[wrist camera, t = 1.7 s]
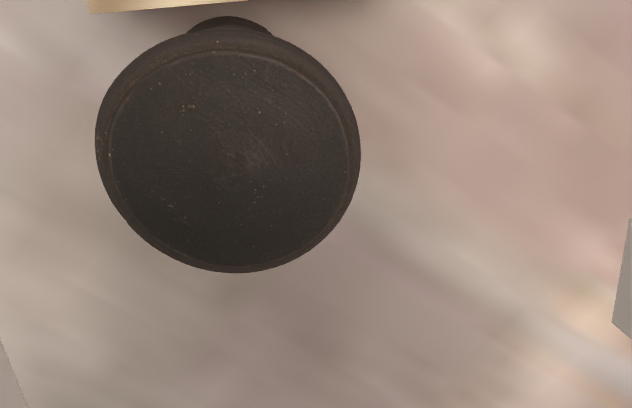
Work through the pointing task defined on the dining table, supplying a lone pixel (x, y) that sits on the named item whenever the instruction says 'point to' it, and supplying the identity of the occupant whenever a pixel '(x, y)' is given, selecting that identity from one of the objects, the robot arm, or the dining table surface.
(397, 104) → the dining table surface
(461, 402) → the dining table surface
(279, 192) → the container
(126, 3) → the footstool
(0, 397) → the robot arm
